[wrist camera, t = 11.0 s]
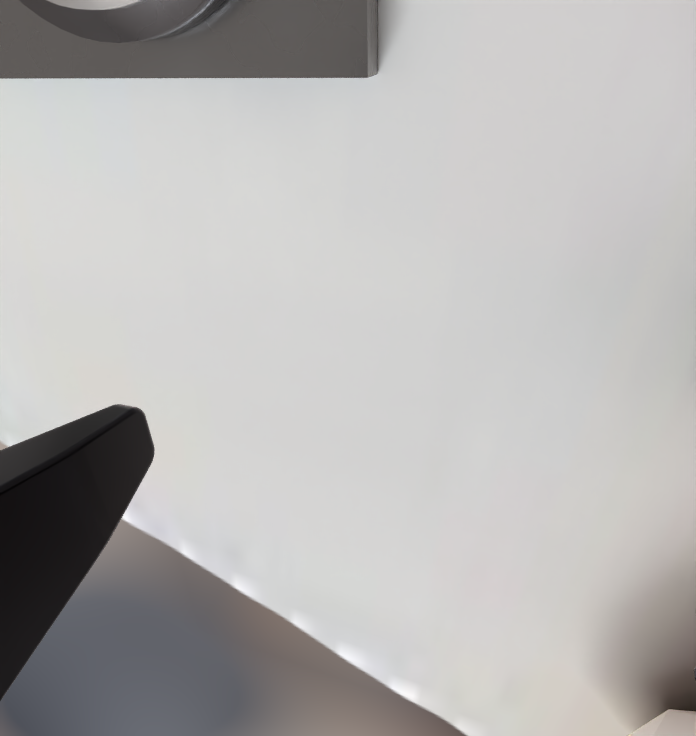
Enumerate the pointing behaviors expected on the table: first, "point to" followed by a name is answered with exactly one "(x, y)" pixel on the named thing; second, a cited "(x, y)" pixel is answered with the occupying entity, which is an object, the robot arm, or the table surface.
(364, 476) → the table surface
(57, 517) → the robot arm
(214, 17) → the base
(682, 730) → the geodesic sphere
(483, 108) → the table surface
